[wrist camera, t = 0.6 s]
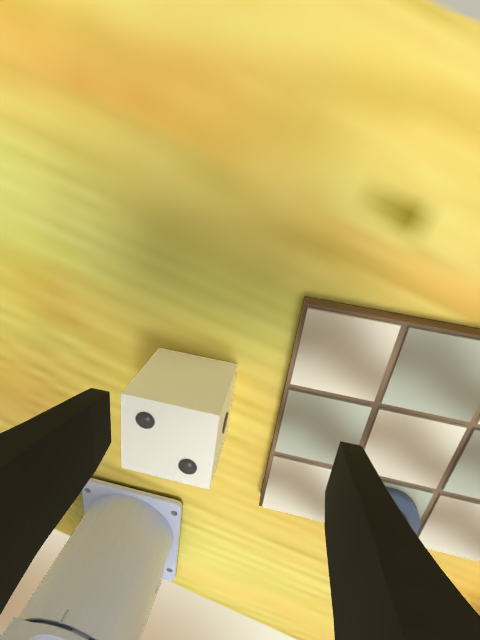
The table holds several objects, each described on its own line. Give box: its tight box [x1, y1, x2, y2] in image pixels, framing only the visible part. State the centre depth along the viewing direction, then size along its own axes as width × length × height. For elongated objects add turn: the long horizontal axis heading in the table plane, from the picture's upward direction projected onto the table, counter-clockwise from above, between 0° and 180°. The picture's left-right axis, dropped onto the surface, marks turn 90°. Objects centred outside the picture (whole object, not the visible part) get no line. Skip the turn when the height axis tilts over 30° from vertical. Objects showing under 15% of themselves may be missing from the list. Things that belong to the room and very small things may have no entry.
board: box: [259, 297, 480, 562], centre depth 21 cm, size 15×15×1 cm
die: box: [121, 348, 238, 489], centre depth 20 cm, size 5×5×5 cm
